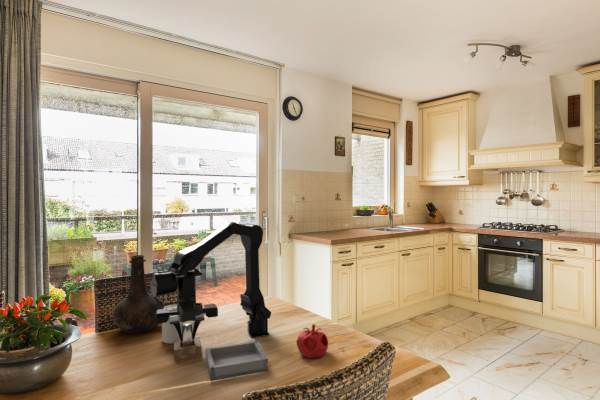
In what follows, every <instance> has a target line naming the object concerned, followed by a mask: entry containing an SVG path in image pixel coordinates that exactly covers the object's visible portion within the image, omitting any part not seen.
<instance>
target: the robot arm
mask: <svg viewBox="0 0 600 400" xmlns="http://www.w3.org/2000/svg"><path fill="white" fill-rule="evenodd" d="M233 235H236V236H240V242H241V244H242V245H243V248H244V251H245V253H244V257H245V284H246V285H245V290H244V293H240V304H239V305H240V306H241V309H242V310H243V311H244V312H245V315H246V316H248V320H247V333H248V335H249V336H250V338H258V337H260V338H261V337H267V336H269V335H270V332H269V325H268V324H269V323H268V322H269V321H268V319H271V317H272V311H271V310H270V309H268V307H266V304H265V303H266V302H265V298H264V294H263V293H262V291H261V284H260V247H261V245H262V243H263V238H264V230H263V228H262V227H261V226H260V225H259V224H251V223H246V224H241V223H237V222H234V221H227V222H225V223H223V225H222V226H220V227H218V229H216V230H215V231H213V232H212V233H211V234H209V235H208V236H206V237H204V239H202V240H201V241H199V242H198V243H197V244H196V243H195V244H194V245H191V246H188V247H186V248H183V249H181V250H180V251H178V252H176V254H175V255H174V260H173V262H172V263H171V265H170V266H169V268H168V270H167V272H161V273H160V272H157V273H153V275H152V278H151V282H150V292H151V294H152V295H151V296H153V297H157V296H158V297H162V296H166V295H173V294H175V292H176V293H177V294H176V296H177V297H176V298H177V300H176V301H177V304H176V305H177V311H172V312H169V308H168V309H159V310H157V311H156V312H155V323H156V324H158V325H159V324H162V323H166V322H167V321H168V320H170V324H173V325H174V326H175V328H176V330H177V332H178V335H179V337H180V340H181V341H182V332H181V325H180V322H185V323H186V322H190V321H191V322H193V323H192V327H193V340H194V338H196V335H197V332H198V328H199V326H200V324H201V323H202V321H205V316H206V317H207V318H209V319H210V318H216V317H219V308H218V306H217V304H216V303H207V304H203V302H197V277H201V276H202V275H203V272H201V271H200V270H199V268H197V267H198V266H199V265H200V264H201V263H202V262H203V260H204V258H205V257H206V256H207V255H208V254H209V253H210V252H211V251H213V250H215V248H217V247H218V246H220V245H221V244H223V242H225V241H226V240H228V239H229V238H231V236H233Z"/></svg>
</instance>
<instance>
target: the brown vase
mask: <svg viewBox="0 0 600 400" xmlns="http://www.w3.org/2000/svg"><path fill="white" fill-rule="evenodd" d="M130 259H131V260H129V261H128V263H129V264H131V265H130V267H131V268H130V280H129V287H128V288H129V289H128V294H127V296H126V298H123V300H120V301H119V303H118V304H116V306H115V308H114V309H113V312H112V318H113V321H114V324H115V325H116V327H117V328H118V329H119V330H120V331H122V332H125V333H128V334H142V333H145V332H149V331H151V330H153V329H154V328H156V327H158V325H159V324H156V323H155V312H156V311H157V310H159V309H164V307H165V305H164V304H165V302H164V300H163V299H162V298H161V296H157V297H153V295H151V294H150V293H149V292H148V288H147V284H146V274H145V262H147V259H145V256H144V255H143V254H136V255H132V256H131V257H130Z"/></svg>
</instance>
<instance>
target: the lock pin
mask: <svg viewBox="0 0 600 400" xmlns="http://www.w3.org/2000/svg"><path fill="white" fill-rule="evenodd" d="M192 345H193V323H192V322H185V323H184V324H182V347H185V346H192Z"/></svg>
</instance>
